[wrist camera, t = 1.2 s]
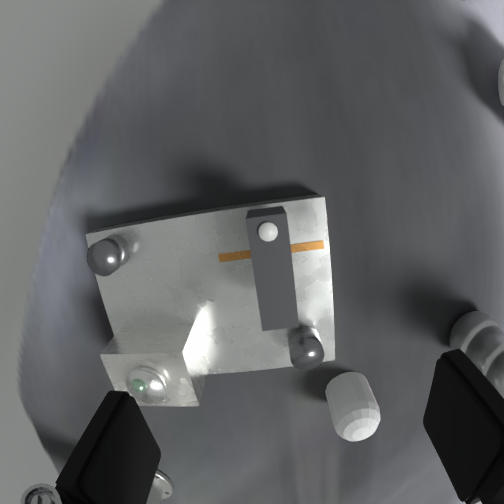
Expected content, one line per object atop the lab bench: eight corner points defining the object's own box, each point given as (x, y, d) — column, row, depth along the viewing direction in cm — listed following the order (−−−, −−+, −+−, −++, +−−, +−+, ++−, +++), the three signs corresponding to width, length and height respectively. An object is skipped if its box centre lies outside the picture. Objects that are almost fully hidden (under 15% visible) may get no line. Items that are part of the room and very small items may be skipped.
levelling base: (329, 344, 32) (349, 403, 23) (137, 361, 34) (107, 414, 25) (318, 194, 28) (345, 207, 19) (99, 228, 30) (44, 252, 20)
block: (291, 294, 27) (299, 327, 22) (262, 298, 27) (262, 332, 22) (281, 203, 25) (286, 213, 19) (248, 207, 25) (245, 219, 20)
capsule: (344, 410, 35) (358, 455, 27) (315, 393, 34) (326, 441, 27) (375, 383, 34) (396, 427, 26) (348, 364, 33) (366, 410, 25)
